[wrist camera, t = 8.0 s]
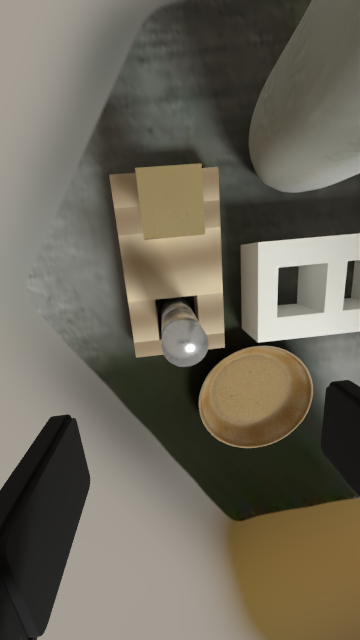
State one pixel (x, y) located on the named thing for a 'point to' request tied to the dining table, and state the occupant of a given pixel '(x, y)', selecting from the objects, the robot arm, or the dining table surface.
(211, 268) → the socket block
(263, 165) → the glass bottle
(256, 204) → the dining table surface
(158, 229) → the gold square peg
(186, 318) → the clear glass vial
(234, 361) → the plant saucer
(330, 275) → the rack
